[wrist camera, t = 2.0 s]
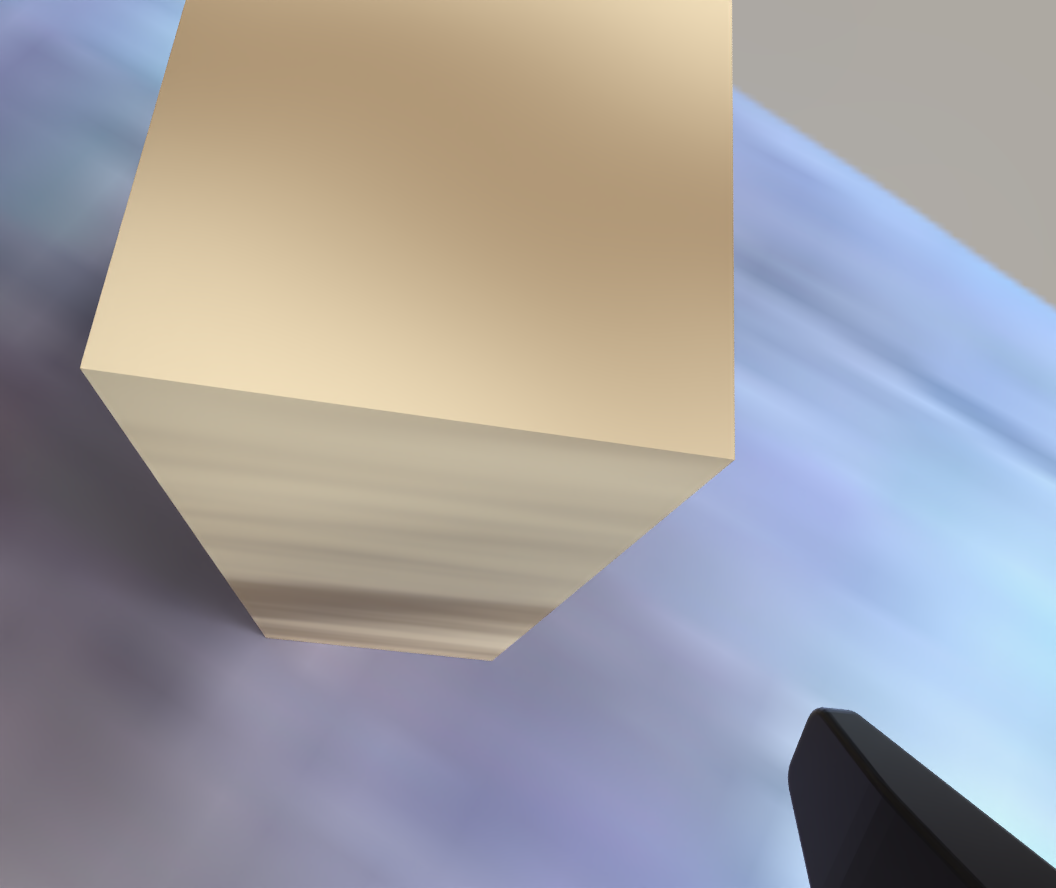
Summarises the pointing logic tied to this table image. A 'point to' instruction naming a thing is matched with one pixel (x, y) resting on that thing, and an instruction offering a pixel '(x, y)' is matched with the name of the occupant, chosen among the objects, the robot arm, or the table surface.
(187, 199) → the birch block
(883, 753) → the robot arm
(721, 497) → the table surface
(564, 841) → the table surface
